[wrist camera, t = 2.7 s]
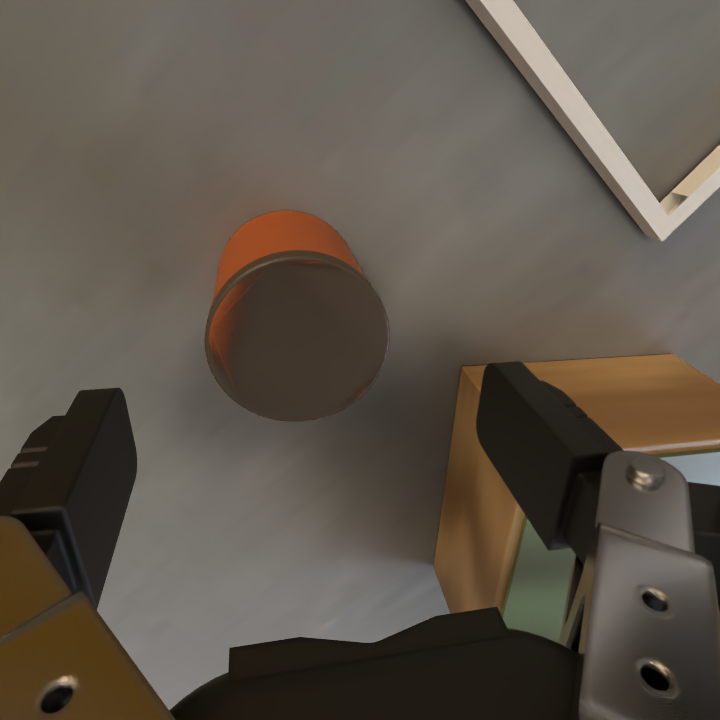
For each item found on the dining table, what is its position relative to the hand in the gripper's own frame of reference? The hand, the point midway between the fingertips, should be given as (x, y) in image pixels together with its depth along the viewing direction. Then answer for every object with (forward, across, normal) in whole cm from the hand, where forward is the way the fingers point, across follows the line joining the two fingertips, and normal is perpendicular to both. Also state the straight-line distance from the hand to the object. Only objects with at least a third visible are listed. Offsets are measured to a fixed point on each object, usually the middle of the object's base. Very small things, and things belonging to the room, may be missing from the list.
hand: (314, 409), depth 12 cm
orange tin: (+8, 0, 0) cm, 8 cm away
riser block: (+8, -12, +10) cm, 17 cm away
